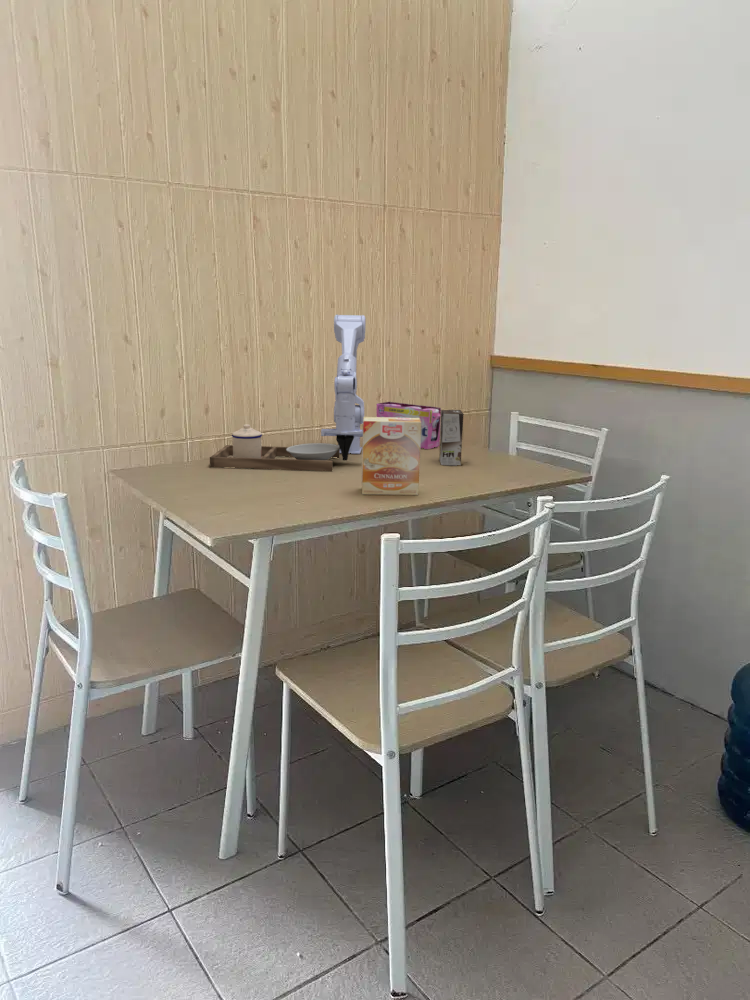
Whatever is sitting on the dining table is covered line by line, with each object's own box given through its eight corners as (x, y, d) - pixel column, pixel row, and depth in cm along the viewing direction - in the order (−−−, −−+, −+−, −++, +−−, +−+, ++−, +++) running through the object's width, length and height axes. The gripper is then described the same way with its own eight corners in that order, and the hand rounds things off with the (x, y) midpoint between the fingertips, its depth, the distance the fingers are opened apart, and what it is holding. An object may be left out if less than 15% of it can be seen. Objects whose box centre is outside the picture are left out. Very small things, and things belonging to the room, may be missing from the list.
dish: (305, 472, 219) (304, 455, 217) (276, 463, 229) (275, 447, 227) (350, 464, 230) (351, 448, 229) (321, 456, 240) (321, 441, 239)
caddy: (226, 454, 241) (226, 445, 240) (339, 457, 239) (339, 448, 238) (210, 467, 222) (209, 457, 222) (332, 471, 220) (332, 461, 220)
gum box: (443, 447, 260) (445, 408, 256) (430, 450, 254) (432, 410, 250) (388, 438, 274) (389, 401, 270) (374, 441, 268) (375, 403, 264)
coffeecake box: (361, 494, 195) (362, 420, 190) (361, 488, 202) (362, 416, 197) (419, 495, 196) (421, 421, 190) (417, 488, 202) (419, 417, 197)
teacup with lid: (268, 462, 230) (267, 425, 227) (243, 466, 224) (242, 428, 221) (246, 456, 239) (245, 420, 236) (221, 460, 232) (220, 423, 229)
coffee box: (461, 465, 231) (464, 413, 227) (440, 465, 231) (442, 413, 227) (458, 459, 240) (461, 409, 235) (438, 459, 240) (440, 408, 236)
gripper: (319, 416, 222) (319, 461, 226) (368, 418, 221) (367, 463, 225) (322, 413, 229) (322, 457, 232) (370, 414, 228) (369, 458, 232)
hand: (345, 459), depth 229 cm, fingers closed
